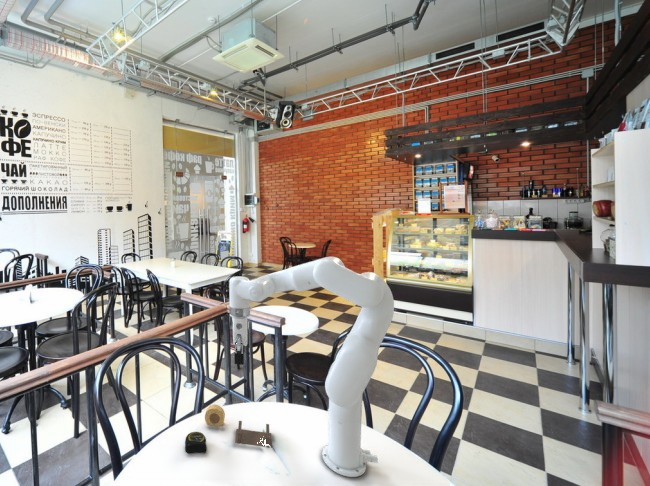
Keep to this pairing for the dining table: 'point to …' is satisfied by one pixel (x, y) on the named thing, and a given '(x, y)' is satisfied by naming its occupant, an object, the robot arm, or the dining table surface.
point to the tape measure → (195, 443)
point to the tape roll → (215, 415)
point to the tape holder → (252, 436)
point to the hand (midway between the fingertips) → (239, 358)
